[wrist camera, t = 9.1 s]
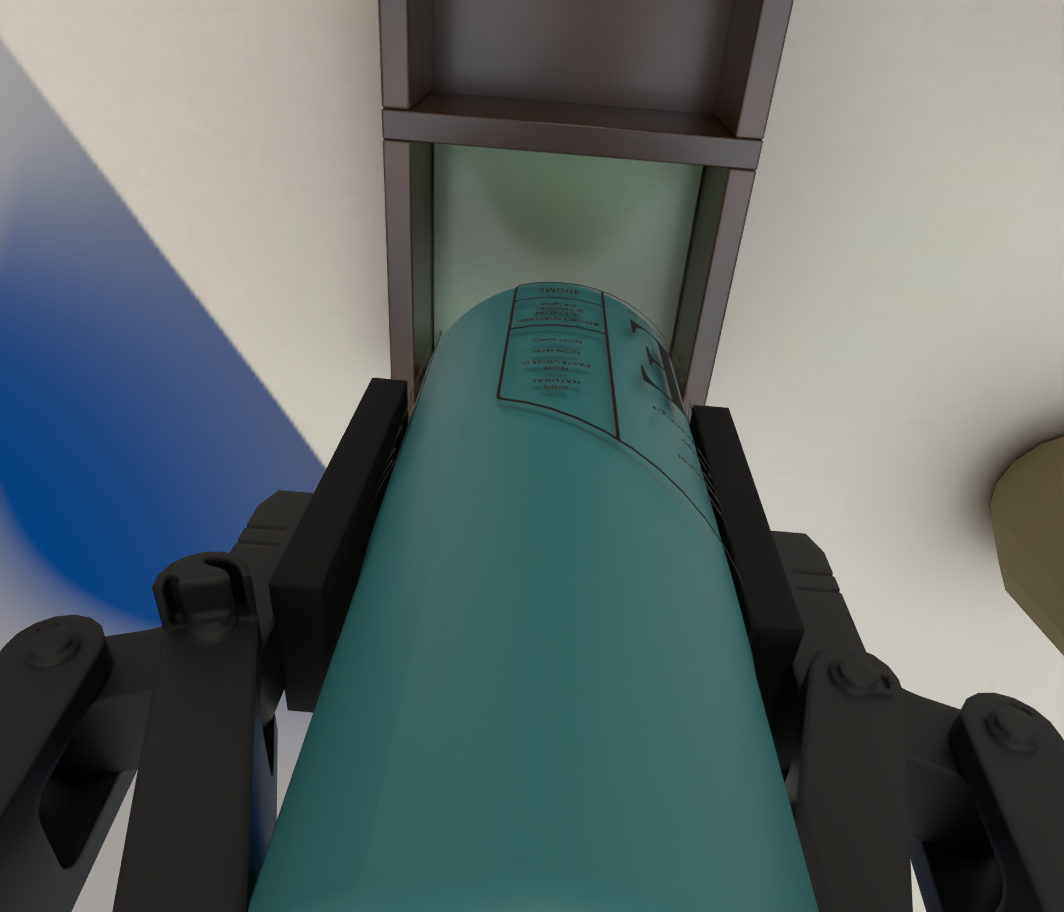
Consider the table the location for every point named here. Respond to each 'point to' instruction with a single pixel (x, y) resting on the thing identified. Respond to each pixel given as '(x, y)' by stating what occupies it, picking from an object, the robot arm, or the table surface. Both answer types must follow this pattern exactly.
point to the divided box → (572, 159)
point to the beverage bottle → (541, 653)
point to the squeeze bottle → (1033, 535)
